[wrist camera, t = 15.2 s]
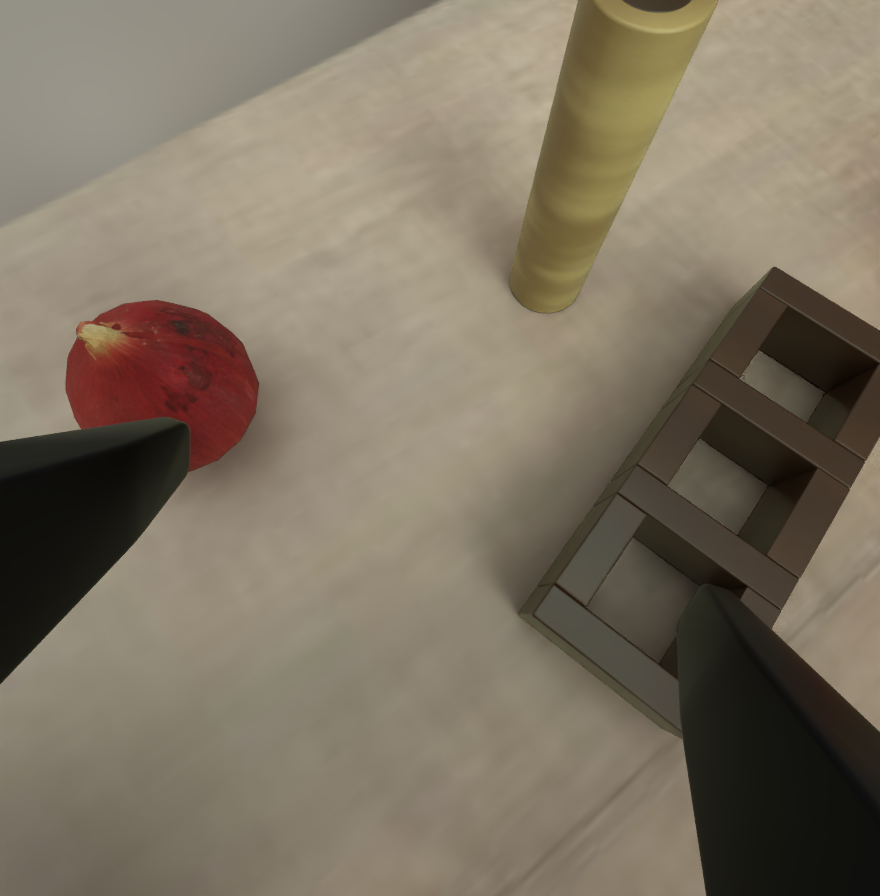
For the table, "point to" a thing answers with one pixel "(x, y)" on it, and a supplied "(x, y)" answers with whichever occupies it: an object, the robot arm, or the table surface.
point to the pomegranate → (163, 374)
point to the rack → (751, 446)
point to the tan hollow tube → (599, 135)
